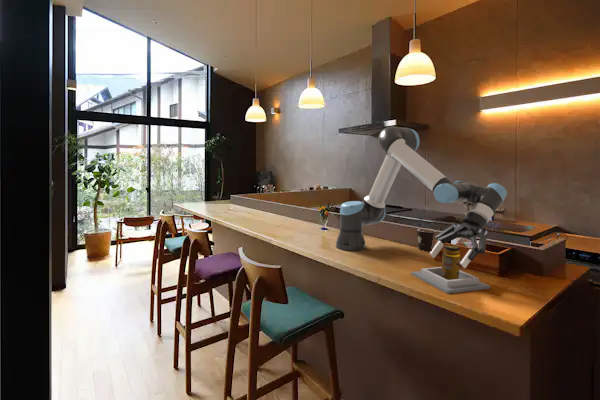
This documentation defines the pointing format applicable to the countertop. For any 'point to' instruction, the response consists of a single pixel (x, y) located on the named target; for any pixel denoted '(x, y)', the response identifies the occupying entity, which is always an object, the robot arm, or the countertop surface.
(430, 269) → the tray
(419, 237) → the coffee mug
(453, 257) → the condiment
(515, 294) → the countertop surface
